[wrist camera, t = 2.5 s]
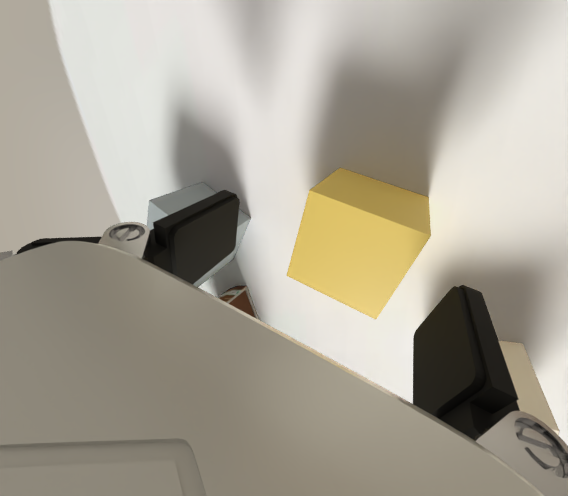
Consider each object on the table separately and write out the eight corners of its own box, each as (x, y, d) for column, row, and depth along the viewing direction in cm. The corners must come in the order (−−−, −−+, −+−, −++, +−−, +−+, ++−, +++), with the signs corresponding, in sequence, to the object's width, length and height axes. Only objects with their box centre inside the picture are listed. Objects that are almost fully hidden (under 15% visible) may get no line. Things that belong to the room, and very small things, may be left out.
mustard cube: (428, 196, 13) (430, 235, 9) (387, 267, 16) (376, 319, 12) (340, 167, 14) (309, 190, 10) (317, 237, 17) (286, 275, 13)
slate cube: (251, 217, 19) (207, 246, 15) (233, 258, 22) (193, 290, 18) (203, 181, 20) (148, 200, 16) (192, 226, 23) (145, 251, 19)
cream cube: (522, 342, 14) (559, 431, 10) (515, 398, 16) (545, 492, 12) (423, 331, 17) (423, 398, 13) (427, 380, 19) (428, 453, 15)
